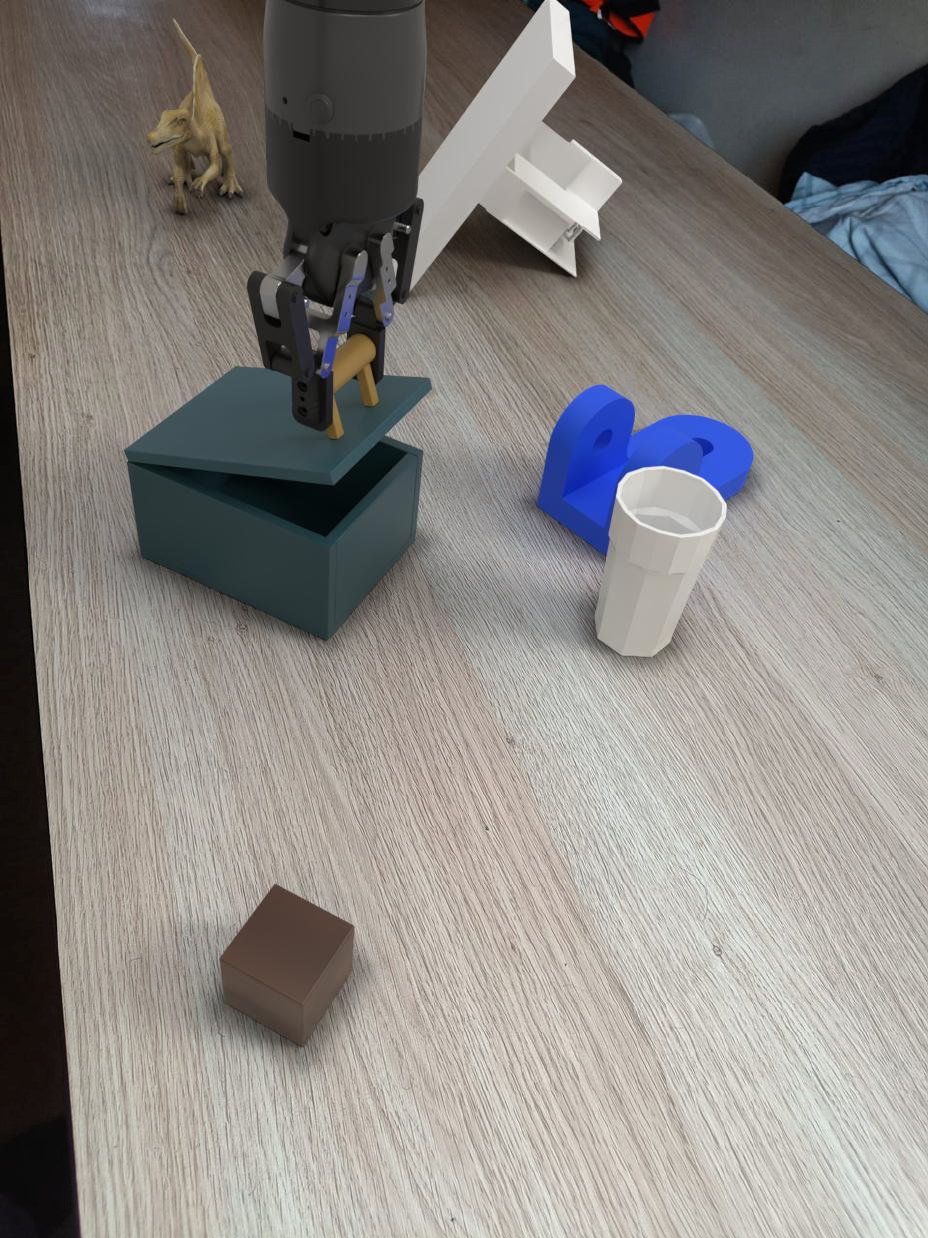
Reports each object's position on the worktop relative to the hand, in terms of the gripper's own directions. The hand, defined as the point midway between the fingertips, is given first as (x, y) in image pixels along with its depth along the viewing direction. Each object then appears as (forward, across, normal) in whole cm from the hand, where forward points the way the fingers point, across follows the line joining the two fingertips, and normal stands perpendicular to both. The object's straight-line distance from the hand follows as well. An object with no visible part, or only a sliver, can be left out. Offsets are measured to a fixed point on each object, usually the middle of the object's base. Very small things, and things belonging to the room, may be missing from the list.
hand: (339, 400), depth 62 cm
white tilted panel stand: (+14, -50, -11) cm, 53 cm away
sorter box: (+14, 0, -4) cm, 14 cm away
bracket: (+14, -21, +15) cm, 30 cm away
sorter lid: (+3, 0, -4) cm, 5 cm away
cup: (+14, -6, +19) cm, 25 cm away
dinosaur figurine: (+13, -42, -42) cm, 61 cm away
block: (+14, +26, +14) cm, 32 cm away
